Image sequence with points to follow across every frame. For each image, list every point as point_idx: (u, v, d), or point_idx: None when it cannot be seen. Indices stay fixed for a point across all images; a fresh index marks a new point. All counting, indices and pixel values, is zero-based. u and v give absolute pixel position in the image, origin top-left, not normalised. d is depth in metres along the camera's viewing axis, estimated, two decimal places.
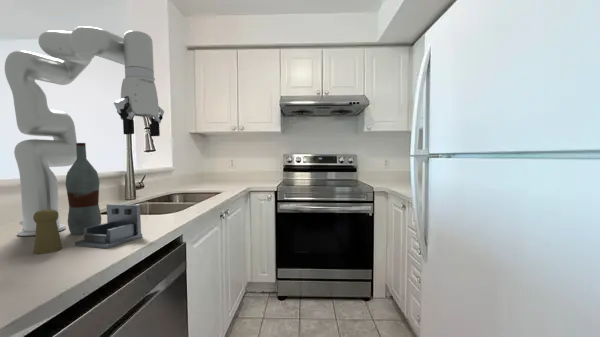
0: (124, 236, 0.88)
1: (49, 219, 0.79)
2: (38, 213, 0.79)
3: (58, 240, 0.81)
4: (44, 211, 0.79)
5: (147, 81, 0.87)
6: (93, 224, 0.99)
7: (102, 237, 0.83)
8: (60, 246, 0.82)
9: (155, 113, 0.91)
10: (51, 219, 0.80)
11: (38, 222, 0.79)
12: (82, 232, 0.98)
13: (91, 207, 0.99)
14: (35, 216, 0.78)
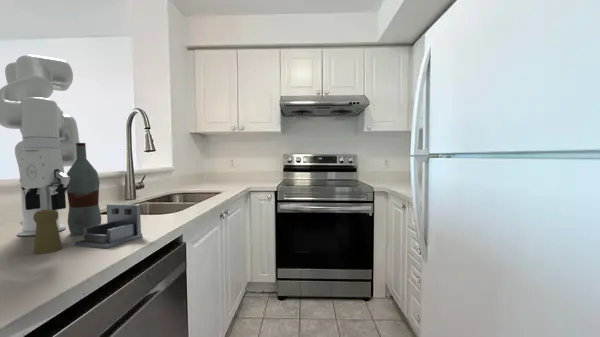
0: (124, 236, 0.88)
1: (49, 219, 0.79)
2: (38, 213, 0.79)
3: (58, 240, 0.81)
4: (44, 211, 0.79)
5: None
6: (93, 224, 0.99)
7: (102, 237, 0.83)
8: (60, 246, 0.82)
9: None
10: (51, 219, 0.80)
11: (38, 222, 0.79)
12: (82, 232, 0.98)
13: (91, 207, 0.99)
14: (35, 216, 0.78)
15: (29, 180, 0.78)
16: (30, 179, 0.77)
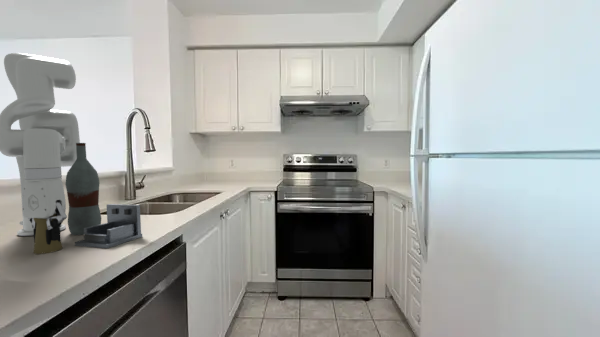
0: (124, 236, 0.88)
1: None
2: None
3: None
4: None
5: None
6: (93, 224, 0.99)
7: (102, 237, 0.83)
8: (60, 246, 0.82)
9: None
10: (51, 219, 0.80)
11: (38, 222, 0.79)
12: (82, 232, 0.98)
13: (91, 207, 0.99)
14: None
15: (31, 210, 0.78)
16: (32, 210, 0.78)
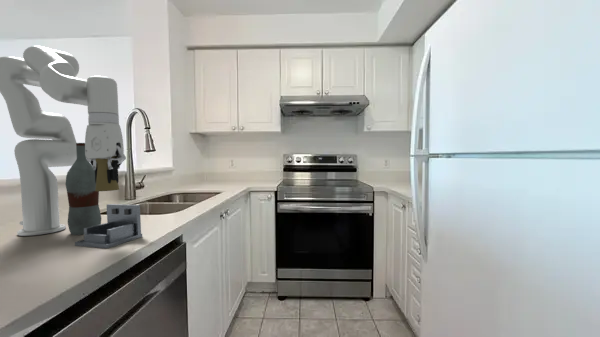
0: (124, 236, 0.88)
1: None
2: None
3: (116, 181, 0.89)
4: None
5: None
6: (93, 224, 0.99)
7: (102, 237, 0.83)
8: (118, 187, 0.89)
9: None
10: None
11: (100, 162, 0.86)
12: (82, 232, 0.98)
13: (91, 207, 0.99)
14: None
15: (94, 152, 0.86)
16: (94, 151, 0.85)
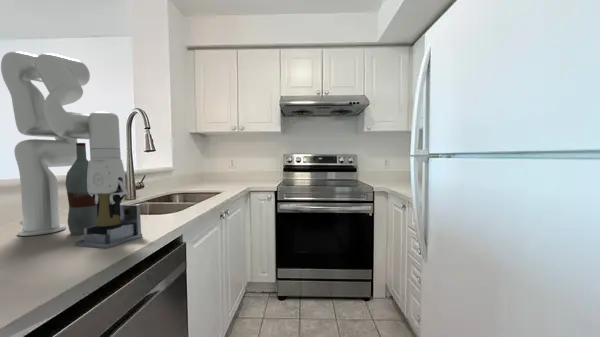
0: (124, 236, 0.88)
1: None
2: None
3: (118, 215, 0.89)
4: None
5: None
6: (93, 224, 0.99)
7: (102, 237, 0.83)
8: (120, 220, 0.89)
9: None
10: None
11: (102, 197, 0.86)
12: (82, 232, 0.98)
13: (91, 207, 0.99)
14: None
15: (96, 187, 0.86)
16: (96, 186, 0.86)
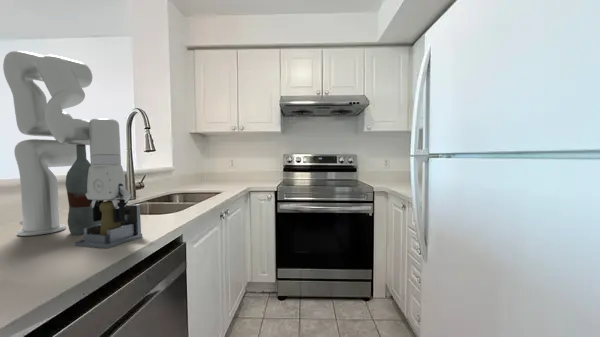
0: (124, 236, 0.88)
1: None
2: (104, 203, 0.86)
3: None
4: (109, 202, 0.87)
5: None
6: (93, 224, 0.99)
7: (102, 237, 0.83)
8: None
9: None
10: None
11: (104, 212, 0.86)
12: (82, 232, 0.98)
13: None
14: (102, 206, 0.86)
15: (96, 193, 0.86)
16: (97, 192, 0.86)
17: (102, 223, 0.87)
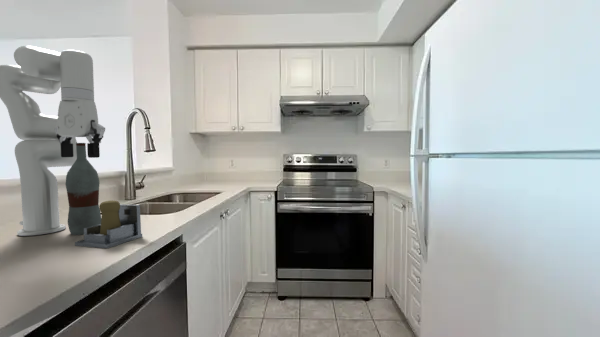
0: (124, 236, 0.88)
1: (114, 209, 0.87)
2: (104, 203, 0.86)
3: None
4: (109, 202, 0.87)
5: None
6: (93, 224, 0.99)
7: (102, 237, 0.83)
8: None
9: None
10: (115, 209, 0.88)
11: (104, 212, 0.86)
12: (82, 232, 0.98)
13: (91, 207, 0.99)
14: (102, 206, 0.86)
15: (66, 128, 0.83)
16: (67, 128, 0.83)
17: (102, 223, 0.87)
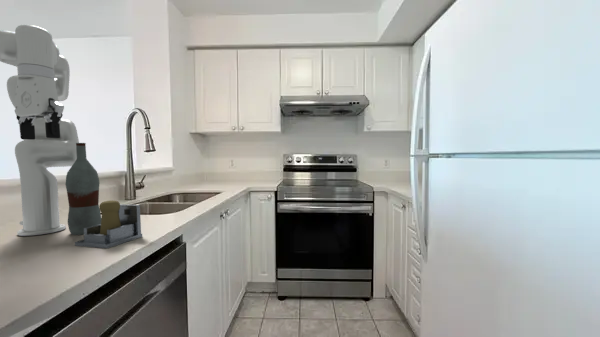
0: (124, 236, 0.88)
1: (114, 209, 0.87)
2: (104, 203, 0.86)
3: None
4: (109, 202, 0.87)
5: None
6: (93, 224, 0.99)
7: (102, 237, 0.83)
8: None
9: None
10: (115, 209, 0.88)
11: (104, 212, 0.86)
12: (82, 232, 0.98)
13: (91, 207, 0.99)
14: (102, 206, 0.86)
15: (24, 108, 0.79)
16: (25, 107, 0.79)
17: (102, 223, 0.87)
